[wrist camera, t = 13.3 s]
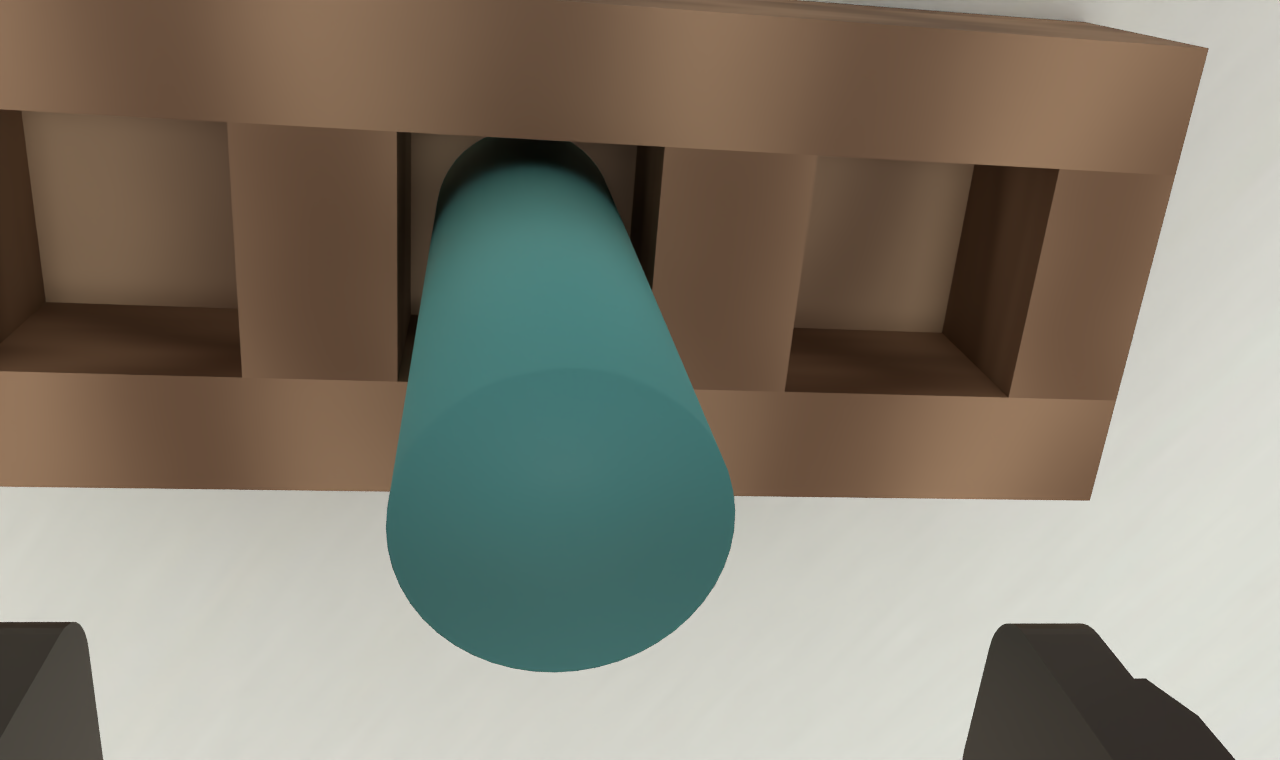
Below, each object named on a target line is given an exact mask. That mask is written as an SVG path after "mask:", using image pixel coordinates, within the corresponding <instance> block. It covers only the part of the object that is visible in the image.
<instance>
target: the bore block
mask: <svg viewBox="0 0 1280 760" xmlns="http://www.w3.org/2000/svg"><path fill="white" fill-rule="evenodd" d="M1208 49H1209V48H1204V47H1199V46H1195V45H1190V44H1185V43H1180V42H1176V41H1171V40H1166V39H1162V38H1157V37H1152V36H1147V35H1143V34H1138V33H1133V32H1129V31H1124V30H1119V29H1115V28H1110V27H1105V26H1100V25H1096V24H1091V23H1086V22H1074V21H1061V20H1048V19H1034V18H1021V17H1008V16H995V15H982V14H969V13H955V12H942V11H929V10H916V9H903V8H890V7H876V6H863V5H850V4H837V3H824V2H811V1H798V0H0V486H6V487H84V488H161V489H239V490H316V491H390V489H391V482H392V476H393V470H394V464H395V458H396V452H397V446H398V439H399V433H400V427H401V421H402V415H403V409H404V402H405V396H406V390H407V384H408V378H409V372H410V366H411V359H412V353H413V347H414V341H415V335H416V329H417V322H418V316H419V310H420V304H421V298H422V292H423V285H424V279H425V273H426V267H427V261H428V255H429V249H430V242H431V236H432V230H433V224H434V218H435V212H436V205H437V200H438V195H439V191H440V188H441V185H442V183H443V180H444V178H445V176H446V174H447V172H448V170H449V169H450V167H451V166H452V165H453V163H454V162H455V160H456V159H457V158H458V157H459V156H460V155H461V154H462V153H463V152H464V151H465V150H467V149H468V148H469V147H470V146H472V145H473V144H475V143H476V142H478V141H480V140H481V139H483V138H485V137H500V138H518V139H536V140H553V141H570V142H572V143H573V144H575V145H576V146H577V147H579V148H580V149H581V150H583V151H584V152H585V153H586V154H587V155H588V156H589V157H590V158H591V159H592V161H593V162H594V163H595V164H596V166H597V167H598V169H599V170H600V172H601V174H602V175H603V177H604V179H605V182H606V184H607V186H608V189H609V191H610V193H611V196H612V198H613V200H614V203H615V205H616V208H617V210H618V212H619V215H620V217H621V219H622V222H623V224H624V226H625V229H626V231H627V233H628V236H629V238H630V241H631V243H632V245H633V248H634V250H635V252H636V255H637V257H638V259H639V262H640V264H641V266H642V269H643V271H644V274H645V276H646V278H647V281H648V283H649V285H650V288H651V290H652V292H653V295H654V297H655V299H656V302H657V304H658V307H659V309H660V311H661V314H662V316H663V318H664V321H665V323H666V325H667V328H668V330H669V332H670V335H671V337H672V340H673V342H674V344H675V347H676V349H677V351H678V354H679V356H680V358H681V361H682V363H683V365H684V368H685V370H686V372H687V375H688V377H689V380H690V382H691V384H692V387H693V389H694V391H695V394H696V396H697V398H698V401H699V403H700V405H701V408H702V410H703V413H704V415H705V417H706V420H707V422H708V424H709V427H710V429H711V431H712V434H713V436H714V438H715V441H716V443H717V446H718V448H719V450H720V453H721V455H722V457H723V460H724V462H725V465H726V467H727V469H728V472H729V476H730V480H731V484H732V488H733V494H734V496H781V497H859V498H937V499H1014V500H1090V497H1091V494H1092V490H1093V486H1094V482H1095V478H1096V475H1097V471H1098V467H1099V463H1100V459H1101V456H1102V452H1103V448H1104V444H1105V440H1106V437H1107V433H1108V429H1109V425H1110V421H1111V418H1112V414H1113V410H1114V406H1115V402H1116V399H1117V395H1118V391H1119V387H1120V383H1121V380H1122V376H1123V372H1124V368H1125V364H1126V360H1127V357H1128V353H1129V349H1130V345H1131V341H1132V338H1133V334H1134V330H1135V326H1136V322H1137V319H1138V315H1139V311H1140V307H1141V303H1142V300H1143V296H1144V292H1145V288H1146V284H1147V281H1148V277H1149V273H1150V269H1151V265H1152V262H1153V258H1154V254H1155V250H1156V246H1157V243H1158V239H1159V235H1160V231H1161V227H1162V224H1163V220H1164V216H1165V212H1166V208H1167V205H1168V201H1169V197H1170V193H1171V189H1172V185H1173V182H1174V178H1175V174H1176V170H1177V166H1178V163H1179V159H1180V155H1181V151H1182V147H1183V144H1184V140H1185V136H1186V132H1187V128H1188V125H1189V121H1190V117H1191V113H1192V109H1193V106H1194V102H1195V98H1196V94H1197V90H1198V87H1199V83H1200V79H1201V75H1202V71H1203V68H1204V64H1205V60H1206V56H1207V52H1208Z"/></svg>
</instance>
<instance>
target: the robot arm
mask: <svg viewBox="0 0 1280 760" xmlns="http://www.w3.org/2000/svg"><path fill="white" fill-rule="evenodd" d="M0 760H103V755H102V748H101V740H100V732H99V725H98V717H97V710H96V702H95V694H94V687H93V679H92V672H91V664H90V656H89V649H88V643H87V638H86V635H85V632H84V630H83V628H82V627H81V625H80V624H78V623H76V622H0ZM963 760H1235V759H1234V758H1233V756H1232V755H1231V754H1230V753H1229V752H1228V751H1227V749H1226V748H1225V747H1224V746H1223V745H1222V743H1221V742H1220V741H1219V740H1218V739H1217V738H1216V736H1215V735H1214V734H1213V733H1212V732H1211V730H1210V729H1209V728H1208V727H1207V726H1206V725H1205V723H1204V722H1203V721H1202V720H1201V719H1200V717H1199V716H1198V715H1196V714H1195V713H1193V712H1192V711H1190V710H1189V709H1188V708H1186V707H1185V706H1183V705H1182V704H1181V703H1179V702H1178V701H1176V700H1175V699H1174V698H1172V697H1171V696H1169V695H1168V694H1167V693H1165V692H1164V691H1162V690H1161V689H1160V688H1158V687H1157V686H1155V685H1154V684H1153V683H1151V682H1150V681H1148V680H1147V679H1134V678H1133V677H1132V676H1131V675H1130V673H1129V672H1128V671H1127V670H1126V668H1125V667H1124V666H1123V665H1122V663H1121V662H1120V661H1119V660H1118V658H1117V657H1116V656H1115V655H1114V653H1113V652H1112V651H1111V650H1110V648H1109V647H1108V646H1107V645H1106V643H1105V642H1104V641H1103V640H1102V639H1101V637H1100V636H1099V635H1098V634H1097V633H1096V632H1095V631H1094V629H1092V628H1091V627H1089V626H1088V625H1085V624H1004V625H1002V626H1001V627H999V628H998V630H997V631H996V632H995V634H994V636H993V638H992V641H991V644H990V648H989V652H988V656H987V660H986V664H985V668H984V672H983V676H982V680H981V684H980V688H979V692H978V696H977V700H976V704H975V708H974V712H973V716H972V720H971V725H970V729H969V733H968V737H967V741H966V745H965V749H964V754H963Z"/></svg>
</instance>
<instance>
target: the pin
mask: <svg viewBox="0 0 1280 760" xmlns="http://www.w3.org/2000/svg"><path fill="white" fill-rule="evenodd" d="M734 521H735V504H734V494H733V488H732V484H731V480H730V476H729V472H728V469H727V467H726V465H725V462H724V460H723V457H722V455H721V453H720V450H719V448H718V446H717V443H716V441H715V438H714V436H713V434H712V431H711V429H710V427H709V424H708V422H707V420H706V417H705V415H704V413H703V410H702V408H701V405H700V403H699V401H698V398H697V396H696V394H695V391H694V389H693V387H692V384H691V382H690V380H689V377H688V375H687V372H686V370H685V368H684V365H683V363H682V361H681V358H680V356H679V354H678V351H677V349H676V347H675V344H674V342H673V340H672V337H671V335H670V332H669V330H668V328H667V325H666V323H665V321H664V318H663V316H662V314H661V311H660V309H659V307H658V304H657V302H656V299H655V297H654V295H653V292H652V290H651V288H650V285H649V283H648V281H647V278H646V276H645V274H644V271H643V269H642V266H641V264H640V262H639V259H638V257H637V255H636V252H635V250H634V248H633V245H632V243H631V241H630V238H629V236H628V233H627V231H626V229H625V226H624V224H623V222H622V219H621V217H620V215H619V212H618V210H617V208H616V205H615V203H614V200H613V198H612V196H611V193H610V191H609V189H608V186H607V184H606V182H605V179H604V177H603V175H602V174H601V172H600V170H599V169H598V167H597V166H596V164H595V163H594V162H593V161H592V159H591V158H590V157H589V156H588V155H587V154H586V153H585V152H584V151H583V150H581V149H580V148H579V147H577V146H576V145H575V144H573V143H572V142H570V141H553V140H536V139H518V138H500V137H485V138H483V139H481V140H480V141H478V142H476V143H475V144H473V145H472V146H470V147H469V148H468V149H467V150H465V151H464V152H463V153H462V154H461V155H460V156H459V157H458V158H457V159H456V160H455V162H454V163H453V165H452V166H451V167H450V169H449V170H448V172H447V174H446V176H445V178H444V180H443V183H442V185H441V188H440V191H439V195H438V200H437V205H436V212H435V218H434V224H433V230H432V236H431V242H430V249H429V255H428V261H427V267H426V273H425V279H424V285H423V292H422V298H421V304H420V310H419V316H418V322H417V329H416V335H415V341H414V347H413V353H412V359H411V366H410V372H409V378H408V384H407V390H406V396H405V402H404V409H403V415H402V421H401V427H400V433H399V439H398V446H397V452H396V458H395V464H394V470H393V476H392V482H391V489H390V495H389V501H388V507H387V521H386V534H387V545H388V551H389V555H390V560H391V564H392V568H393V570H394V573H395V575H396V577H397V580H398V582H399V585H400V587H401V589H402V590H403V592H404V594H405V595H406V597H407V599H408V600H409V602H410V604H411V605H412V606H413V607H414V609H415V610H416V611H417V612H418V614H419V615H420V616H421V617H422V619H423V620H424V621H426V622H427V623H428V624H429V625H430V626H431V627H432V628H433V629H434V630H435V631H436V632H437V633H438V634H440V635H441V636H443V637H444V638H445V639H447V640H448V641H450V642H451V643H452V644H454V645H455V646H457V647H459V648H461V649H463V650H465V651H466V652H468V653H470V654H472V655H474V656H477V657H479V658H482V659H484V660H487V661H489V662H492V663H495V664H499V665H503V666H506V667H510V668H515V669H521V670H528V671H536V672H567V671H579V670H584V669H590V668H596V667H600V666H604V665H607V664H611V663H614V662H617V661H620V660H623V659H625V658H628V657H630V656H632V655H635V654H637V653H639V652H641V651H643V650H645V649H647V648H649V647H651V646H652V645H654V644H656V643H658V642H659V641H661V640H662V639H663V638H665V637H666V636H668V635H669V634H671V633H672V632H673V631H675V630H676V629H677V628H678V627H679V626H680V625H681V624H683V623H684V622H685V621H686V620H687V619H688V618H689V617H690V616H691V615H692V614H693V613H694V612H695V611H696V610H697V608H698V607H699V606H700V605H701V604H702V603H703V602H704V600H705V599H706V597H707V596H708V594H709V593H710V591H711V590H712V588H713V587H714V586H715V584H716V582H717V580H718V578H719V576H720V574H721V572H722V570H723V568H724V565H725V562H726V560H727V557H728V554H729V551H730V548H731V543H732V538H733V533H734Z"/></svg>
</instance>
